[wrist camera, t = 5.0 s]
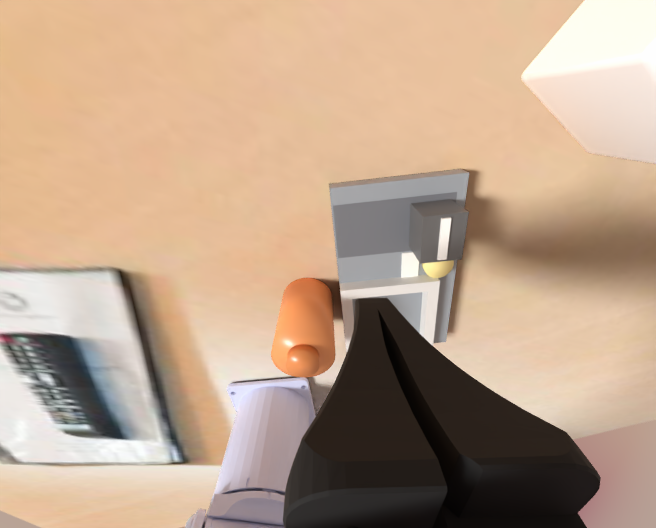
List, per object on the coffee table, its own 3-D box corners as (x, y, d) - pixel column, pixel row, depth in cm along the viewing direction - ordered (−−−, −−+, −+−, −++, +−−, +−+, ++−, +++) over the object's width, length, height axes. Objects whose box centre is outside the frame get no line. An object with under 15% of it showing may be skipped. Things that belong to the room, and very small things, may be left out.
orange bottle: (334, 315, 23) (338, 385, 17) (287, 319, 24) (276, 390, 18) (329, 275, 21) (332, 338, 16) (278, 280, 22) (262, 345, 16)
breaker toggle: (445, 242, 19) (463, 260, 17) (408, 246, 19) (420, 264, 17) (450, 199, 17) (470, 212, 15) (410, 203, 17) (424, 217, 15)
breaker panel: (440, 331, 25) (450, 350, 23) (345, 340, 25) (347, 360, 23) (460, 168, 18) (477, 176, 16) (329, 183, 18) (330, 192, 16)
